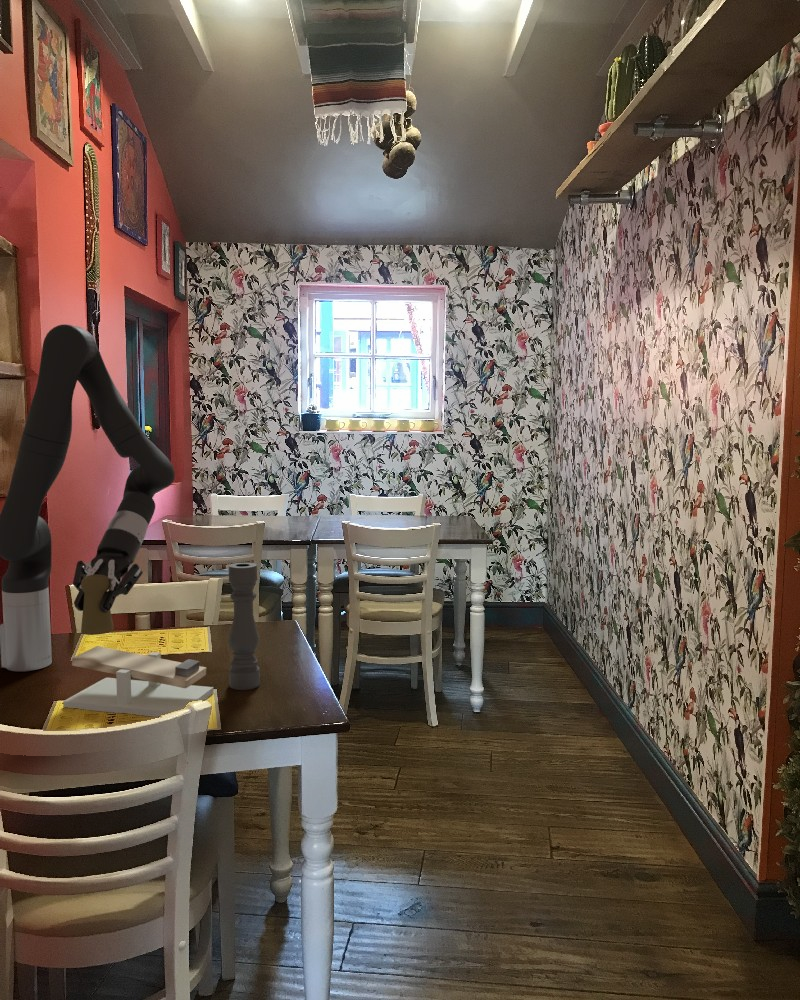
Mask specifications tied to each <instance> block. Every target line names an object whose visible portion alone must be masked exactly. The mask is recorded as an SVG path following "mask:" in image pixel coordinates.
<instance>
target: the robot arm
mask: <svg viewBox="0 0 800 1000" xmlns="http://www.w3.org/2000/svg"><path fill="white" fill-rule="evenodd" d="M39 363H40V364H39V371H38V377H37V382H36V388H35V391H34V394H33V398H32V400H31V403H30V406H29V410H28V414H27V417H26V422H25V425H24V428H23V431H22V435H21V438H20V443H19V446H18V451H17V456H16V461H15V464H14V468H13V471H12V476H11V480H10V484H9V487H8V488H9V489H8V491H7V492H8V493H7V496H6V498H5V501H4V504H3V506H2V508H1V512H0V558H1V559H3V560H5V561H9V562H8V567H7V569H6V571H5V573H4V575H3V576H2V578H1V597H2V599H1V601H2V616H3V617H2V618H3V623H1V624H0V661H1V662H0V665H1V668H4V669H6V670H8V671H10V672H30V671H36V670H40V669H45V668H46V667H48V666H50V665H51V664H52V661H53V659H52V635H51V634H52V632H51V613H50V611H51V610H50V593H49V592H50V591H49V587H50V586H49V579H50V576H51V573H52V559H53V557H52V551H53V550H52V535H51V530H50V526H49V525H48V523H47V522H46V519H44V518H42V516H40V513H41V508H42V505H43V502H44V500H45V497H46V496H47V494H48V492H49V490H50V489H51V488H52V485H53V484H54V483H55V481H56V479H57V477H58V475H59V474H60V472H61V470H62V468H63V466H64V463H65V461H66V458H67V453H68V449H69V447H70V441H71V437H72V429H73V398H74V397H73V396H74V393H75V392H74V391H75V389H76V384H77V382H78V383H79V384H80V386H81V387H82V389H83V391H85V392H84V393H86V395H87V398H88V399H89V402H90V403H91V405H92V408H93V411H94V413H95V416H96V419H97V420H98V423H99V425H100V427H101V429H102V431H103V433H104V434H105V436H106V437H107V439H108V441H109V442H110V443H111V445H112V447H113V448H114V450H115V452H116V454H118V455H119V457H121V458H123V459H128V458H131V459H133V460H134V461H135V462H136V463H137V464H138V465H137V466H135V467H134V468H133V469H132V470H131V471H130V472H129V475H128V476H127V479H126V480H125V481H126V482H125V485H124V489H123V495H122V497H123V498H122V499H121V502H120V504H119V506H118V507H117V510H116V512H115V513H114V515H113V517H112V518H111V520H110V522H109V523H108V526H107V527H106V530H105V532H104V534H103V535H102V538H101V540H100V542H99V544H98V546H97V548H96V554H95V557H94V558H92V559H91V561H89V562H84V561H83V560H78V561H77V563H76V567H75V571H74V577H73V581H72V585H73V586H74V588H76V590H77V591H78V593H77V594H76V597H75V598H74V600H73V605H74V607H75V608H76V610H77V611H80V612H83V604H84V594H85V593H84V592H83V590H82V588H81V581H82V579H83V578H84V577H86V576H89V575H95V574H100V575H105V576H107V577H108V579H109V587H108V590H107V591H106V592H105V594H104V597H103V599H102V601H101V603H100V605H99V609H100V610H101V611H102V612H103V613H107V612H108V610H110V611H111V609H112V607H113V605H114V602H115V601H116V598H117V597H119V595H123V596H127V595H128V594H129V593H130V591H131V590H132V588H133V587H134V586H135V584H136V583H137V582H138V580H139V579H140V577H142V575H143V573H144V572H143V570H142V569H141V567H140V566H139V565H138V564H137V563H134V562H135V560H136V558H137V555H138V553H139V551H140V549H141V547H142V543H144V540H145V537H146V535H147V530H148V528H149V525H150V522H151V520H152V519H153V516H154V514H155V511H156V503H155V500H154V499H153V497H154V496H155V495H156V494H157V493H159V492H161V491H163V490H165V489H166V488H168V487H171V485H172V484H173V482H174V481H175V476H176V474H175V468H174V466H173V464H172V462H171V460H170V459H169V457H167V456H166V455H165V454H164V452H163V451H161V449H159V448H158V447H157V446H156V445H155V443H153V442H152V441H151V440H150V438H148V437H147V436H146V433H145V432H144V430H143V429H142V427H141V425H140V424H139V422H138V421H137V418H135V416H134V414H133V413H132V410H130V407H128V405H127V403H126V402H125V400H124V398H123V397H122V395H121V393H120V391H119V390H118V389H117V387H116V386H117V385H116V384H115V383H114V380H113V379H112V377H111V375H110V373H109V371H108V369H107V367H106V364H105V361H104V359H103V357H102V354H101V352H100V350H99V347H98V345H97V342H96V340H95V338H94V336H93V335H92V334H91V333H90V332H89V330H86V329H84V328H83V327H80V326H77V325H72V324H59V325H56V326H54V327H53V328H51V329H49V331H48V332H47V333H46V335H45V337H44V340H43V343H42V348H41V355H40V362H39Z"/></svg>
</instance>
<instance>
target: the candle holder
mask: <svg viewBox="0 0 800 1000" xmlns="http://www.w3.org/2000/svg"><path fill="white" fill-rule="evenodd" d="M228 582H229V583H230V586H231V589H232V593H231V594H230V595H229V596H230V597H229V598H230V599H231V600H232V602H233V619H232V622H231V623H232V624H231V628H230V633H229V636H228V645H229V647H230V649H231V650H232V651H233V652H232V654H233V655H234V656H233V658H232V659H231V660H230V663H229V665H230V668H229V670H228V683H229V684H228V685H229V688H231V689H232V690H237V691H248V690H253V689H256V688H258V687H259V686H260V683H261V682H260V681H261V680H260V679H261V678H260V677H261V676H260V675H261V673H260V671H261V670H260V667H259V666H258V665H259V660H258V659H257V657H256V655H255V653H256V650H257V648H258V646H259V643H260V636H259V633H258V627H257V623H256V621H255V616H254V600H255V599H256V598H257V593H256V592H255V591H254V589H255V586H256V585H257V582H258V564H257V563H255V562H254V563H253V562H235V563H231V564H229V565H228Z"/></svg>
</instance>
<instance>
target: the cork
mask: <svg viewBox="0 0 800 1000" xmlns="http://www.w3.org/2000/svg"><path fill="white" fill-rule="evenodd" d="M108 587H109V579H108V577H107V576H105V575H100V574H95V575H89V576H86V577H84V578H83V579H82V581H81V588H82V590H83V592H84V593H85V594H84V604H83V611H82V617H81V627H80V633H81V634H83V635H86V636H95V635H96V636H97V635H105V634H109V633H111V632H114V631H115V630H114V629H115V628H114V627H115V626H114V622H113V617H112V616H113V615H112V611H111V609H110V610H108V612H107V613H103V612H102V611H101V610H100V609H99V605H100V603H101V601H102V599H103V597H104V594H105V592H106V591H109V590H108Z"/></svg>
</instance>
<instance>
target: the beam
mask: <svg viewBox="0 0 800 1000" xmlns="http://www.w3.org/2000/svg"><path fill="white" fill-rule="evenodd" d="M71 659H72V661H71V666H73V667H79V668H82V669H87V670H88V669H89V670H93V671H98V672H103V673H108V674H114V675H116V672H117V671H119V670H121V669H123V670H130V671H131V680H140V681H151V682H156V683H161V684H166V685H171V686H176V687H181V688H188V687H189V686H190V685H194V684H195V683H196V682H197V681H199V680H201V679H202V678H204V677H205V676H207V667H206V666H203V665H202V666H201V665H200V663H201V662H200V660H196V659H191V658H190V659H189V658H188V659H186V660H185V661H183V662H180V661H176V660H175V661H174V660H170V659H166V658H165V659H164V658H162V657H161V658H156V657H150V656H148V655H145V654H139V653H134V652H129V651H124V650H119V649H115V648H110V647H109V648H108V647H105V646H104V647H103V646H100V645H99V646H98V645H97V646H95V647H92V648H90V649H88V650H86V651H84V652H82V653H79V654H78V655H76V656H74V657H72V658H71Z"/></svg>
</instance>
